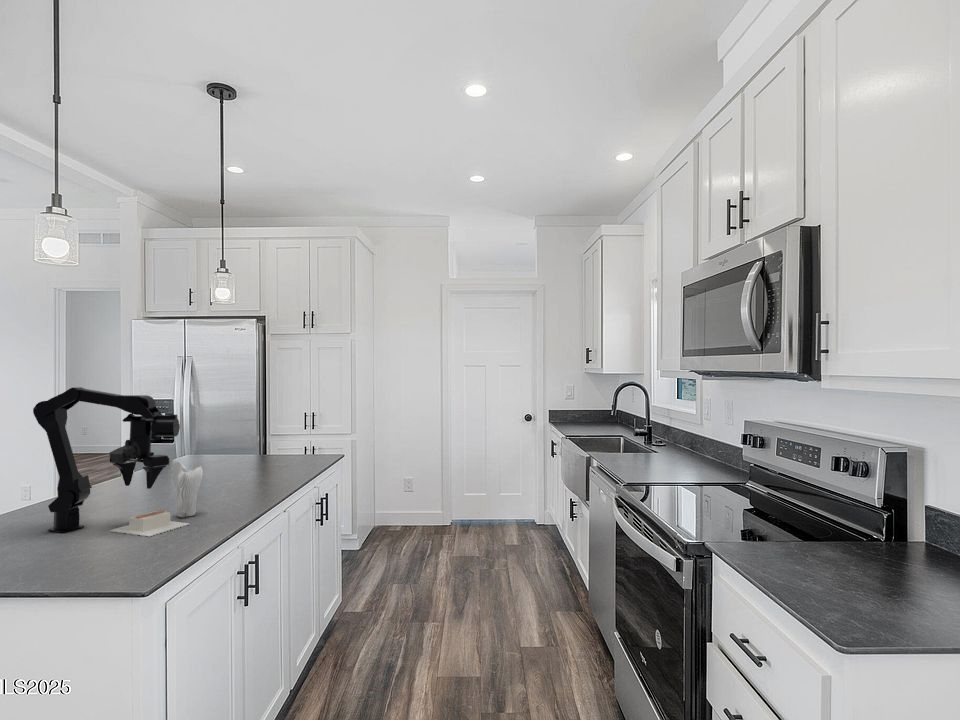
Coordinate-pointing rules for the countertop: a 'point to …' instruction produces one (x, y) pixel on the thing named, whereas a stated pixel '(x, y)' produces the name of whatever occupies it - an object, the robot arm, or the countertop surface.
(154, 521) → the card box
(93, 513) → the countertop surface
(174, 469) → the shell sculpture
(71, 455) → the robot arm
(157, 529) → the mat
